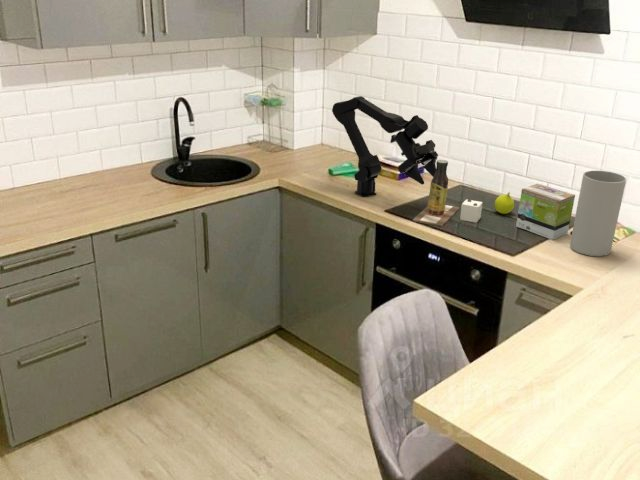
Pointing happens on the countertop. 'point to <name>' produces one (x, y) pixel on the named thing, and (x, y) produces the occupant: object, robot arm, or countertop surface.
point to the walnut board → (436, 216)
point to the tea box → (545, 211)
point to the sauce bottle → (438, 189)
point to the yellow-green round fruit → (504, 204)
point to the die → (471, 210)
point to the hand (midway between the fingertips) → (430, 181)
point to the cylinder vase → (597, 212)
